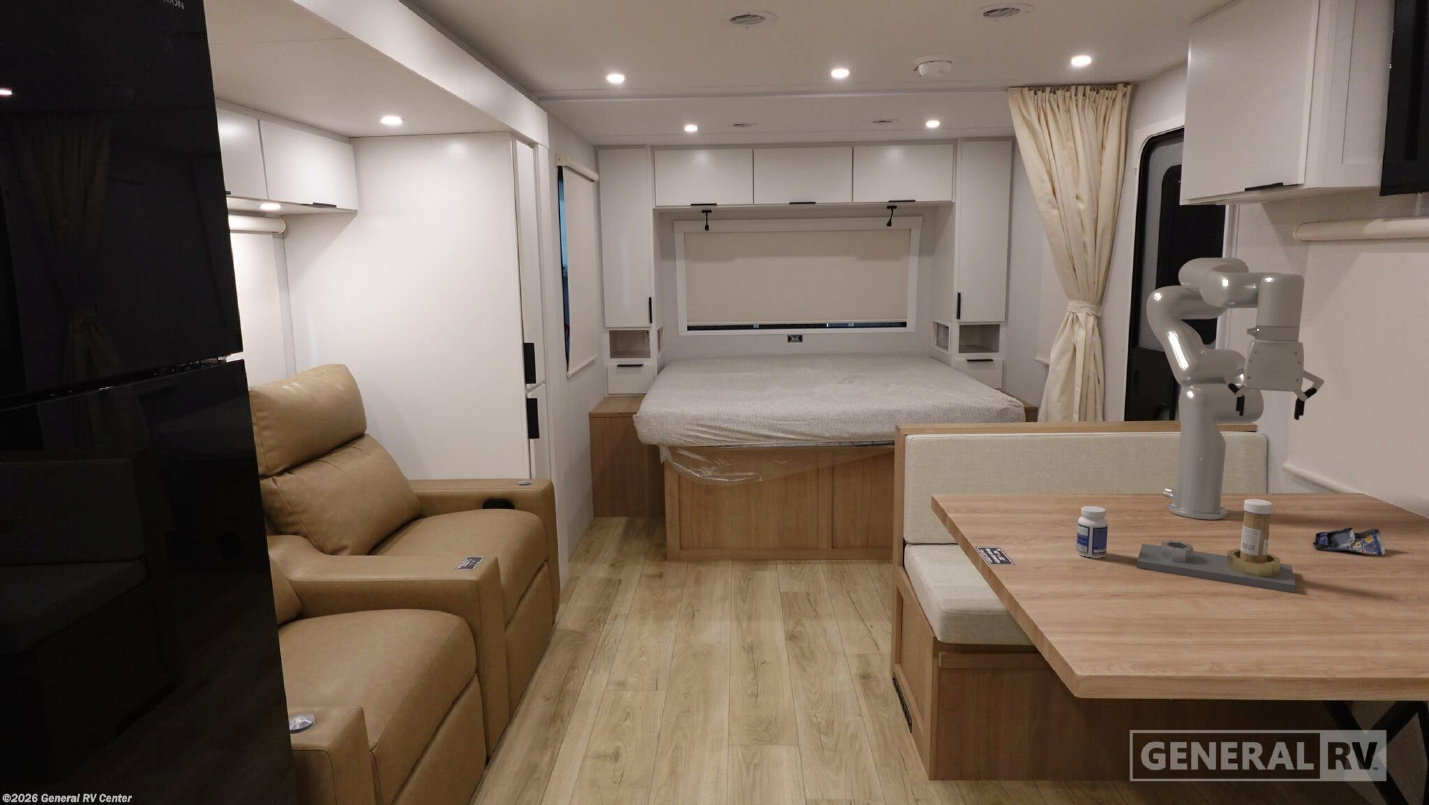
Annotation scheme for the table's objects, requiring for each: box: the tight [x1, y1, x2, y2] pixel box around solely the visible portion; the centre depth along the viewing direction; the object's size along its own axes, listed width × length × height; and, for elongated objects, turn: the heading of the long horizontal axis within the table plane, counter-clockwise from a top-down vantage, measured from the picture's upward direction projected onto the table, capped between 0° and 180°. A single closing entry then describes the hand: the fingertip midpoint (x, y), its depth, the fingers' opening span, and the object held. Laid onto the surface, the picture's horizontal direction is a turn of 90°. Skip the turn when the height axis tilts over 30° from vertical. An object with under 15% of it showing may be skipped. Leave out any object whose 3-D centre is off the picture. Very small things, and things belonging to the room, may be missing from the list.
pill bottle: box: [1075, 505, 1109, 559], centre depth 173 cm, size 6×6×10 cm
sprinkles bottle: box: [1239, 498, 1274, 562], centre depth 159 cm, size 5×5×14 cm
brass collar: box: [1226, 548, 1281, 577], centre depth 160 cm, size 8×8×2 cm
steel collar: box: [1159, 540, 1195, 562], centre depth 167 cm, size 6×6×2 cm
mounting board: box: [1136, 543, 1296, 594], centre depth 164 cm, size 26×12×2 cm, turn 58°
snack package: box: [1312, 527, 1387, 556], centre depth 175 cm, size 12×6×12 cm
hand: (1268, 417), depth 172 cm, fingers open, 9 cm apart
